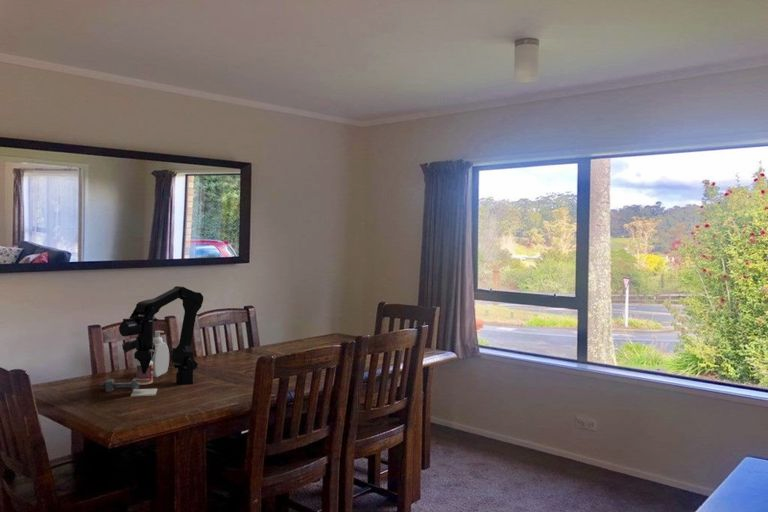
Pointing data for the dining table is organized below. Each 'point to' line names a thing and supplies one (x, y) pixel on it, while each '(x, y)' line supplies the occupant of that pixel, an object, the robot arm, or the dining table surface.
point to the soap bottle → (160, 355)
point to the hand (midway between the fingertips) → (145, 371)
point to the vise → (119, 385)
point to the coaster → (144, 392)
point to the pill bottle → (146, 377)
